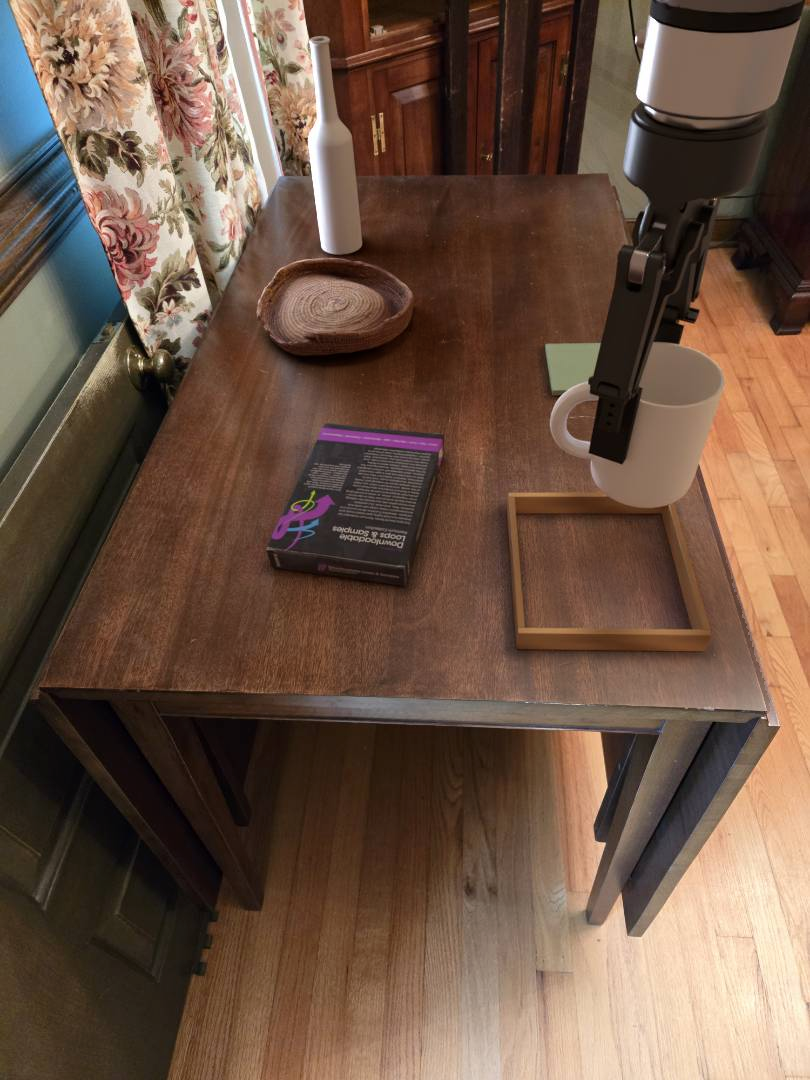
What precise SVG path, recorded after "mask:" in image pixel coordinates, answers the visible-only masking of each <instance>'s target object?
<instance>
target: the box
mask: <svg viewBox="0 0 810 1080" xmlns="http://www.w3.org/2000/svg"><path fill="white" fill-rule="evenodd" d="M444 451H445V434H444V433H439V432H435V433H433V432H432V433H431V432H423V431H410V430H399V429H390V428H380V427H379V428H378V427H368V426H367V427H366V426H358V425H357V426H355V425H348V424H347V425H346V424H337V423H329V422H324V423H323V425H322V427H321V430H320V432H319V434H318V437H317V439H316V441H315V443H314V445H313V447H312V449H311V452H310V453H309V456H308V458H307V460H306V462H305V465H304V467H303V469H302V471H301V473H300V475H299V477H298V480H297V482H296V484H295V486H294V488H293V490H292V492H291V494H290V496H289V499H288V501H287V503H286V504H285V506H284V510H283V512H282V514H281V516H280V518H279V520H278V523H277V525H276V527H275V529H274V530H273V533H272V535H271V536H270V539H269V541H268V542H267V545H266V548H265V551H266V554H267V557H268V561H269V563H270V566H271V568H275V569H282V570H289V571H297V572H305V573H312V574H319V575H325V576H326V575H327V576H332V577H340V578H348V579H353V580H361V581H367V582H368V581H369V582H375V583H382V584H388V585H395V586H401V587H402V586H403V587H406V586H407V584H408V581H409V577H410V573H411V571H412V570H411V569H412V567H413V563H414V560H415V556H416V554H417V553H416V552H417V549H418V547H419V546H418V545H419V542H420V539H421V535H422V533H423V529H424V525H425V521H426V518H427V514H428V510H429V508H430V504H431V500H432V497H433V493H434V490H435V486H436V482H437V478H438V474H439V471H440V468H441V465H442V462H443V457H444V453H445V452H444Z"/></svg>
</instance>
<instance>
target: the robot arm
mask: <svg viewBox="0 0 810 1080" xmlns="http://www.w3.org/2000/svg"><path fill="white" fill-rule="evenodd" d="M805 4H806V0H651V1H650V5H649V6H650V7H649V13H648V18H647V23H646V27H643V28H639V30H638V32H637V34H636V35H635V38H634V39H635V40H634V44H635V46H636V47H637V48H638V49H641V50H643V51H642V57H641V61H640V65H639V70H638V78H637V83H636V89H635V94H636V97H637V98H638V100H639V101H640V102H639V103H638V104H637V106H635V108H634V109H633V110H632V111H631V114H630V119H629V126H628V131H627V138H626V142H625V143H626V144H625V149H624V155H623V160H622V171H623V175H624V177H625V178H626V180H627V181H628V182H629V183H630V184H631V185H632V186H633V187H635V188H638V189H639V190H640V191H641V192H642V193H643V194H644V195H645V196H646V198H647V205H646V206H645V210H639V213H638V214H637V217H636V219H635V222H634V226H633V229H632V232H631V238H632V245H629V244H623V245H622V246H621V248H620V250H618V253H617V258H616V259H617V262H616V270H615V278H614V285H613V290H612V293H611V298H610V302H609V307H608V311H607V315H606V319H605V324H604V328H603V332H602V337H601V341H600V343H601V345H600V349H599V353H598V358H597V362H596V366H595V370H594V375H593V376H591V377H589V380H588V385H590V391H589V392H590V394H592V395H595V396H598V397H599V399H598V401H597V405H596V409H595V415H594V421H593V426H592V432H591V437H590V441H589V442H590V447H589V453H590V454H593V455H595V456H598V457H601V458H604V459H607V460H610V461H613V462H616V463H619V464H623V463H624V461H625V460H626V456H627V452H628V448H629V444H630V440H631V435H632V431H633V427H634V423H635V419H636V414H637V410H638V406H639V402H640V398H641V393H642V389H643V388H641V387H639V384H640V381H641V378H642V375H643V372H644V369H645V366H646V363H647V360H648V357H649V353H650V350H651V347H652V344H653V342H666V343H674V344H679V345H681V340H682V336H683V332H684V329H685V325H684V324H681V323H680V321H681V322H684V323H689V324H693V325H695V324H696V322H697V320H698V317H699V315H700V312H701V309H700V308H695V307H691V303H695V302H696V300H698V298H699V296H700V288H701V283H702V279H703V274H704V270H705V265H706V261H707V257H708V253H709V250H710V244H711V240H712V236H713V231H714V227H715V223H716V219H717V214H718V210H719V207H720V202H721V199H723V198H725V197H729V196H732V195H734V194H736V193H739V192H740V191H742V190H744V189H745V188H746V187H747V186H748V185H749V184H750V183H751V181H752V180H753V179H754V175H755V172H756V168H757V165H758V163H759V159H760V155H761V152H762V150H763V149H762V148H763V146H764V143H765V142H764V141H765V139H766V135H767V132H768V128H769V126H770V125H769V124H770V118H769V116H768V114H767V110H768V109H769V108H771V107H772V106H773V105H775V104H776V103H777V101H778V100H779V95H780V92H781V88H782V86H783V85H782V84H783V82H784V79H785V75H786V71H787V68H788V65H789V61H790V58H791V54H792V52H793V49H794V44H795V42H796V38H797V34H798V31H799V27H800V25H801V20H802V14H803V12H804V7H805Z"/></svg>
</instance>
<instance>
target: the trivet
mask: <svg viewBox="0 0 810 1080" xmlns="http://www.w3.org/2000/svg"><path fill="white" fill-rule="evenodd" d="M600 345H601V342H582V343H581V342H577V343H574V342H573V343H567V342H566V343H545V345H544V346H545V348H544V349H545V356H546V363H547V364H546V365H547V369H548V370H547V371H548V376H549V383H550V390H551V396H562V394H564V393H565V392H566V391H567V390H569V389H570V388H572V387H574V386H576V385H578V384H581V383H584V382H588V380H589V377H591V376H593V375H594V370H595V366H596V362H597V358H598V353H599V349H600Z"/></svg>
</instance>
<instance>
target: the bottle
mask: <svg viewBox="0 0 810 1080" xmlns="http://www.w3.org/2000/svg"><path fill="white" fill-rule="evenodd" d="M330 42H331V39H330V38H329V37H328V36H325V35H319V36H313V37H311V38H310V39H308V43H309V44H310V52H311V60H312V61H311V62H312V67H313V68H312V71H313V78H314V87H315V100H316V101H315V102H316V103H315V104H316V117H317V118H316V121H315V123H314V125H313V127H312V128H311V130H310V132H309V135H308V139H307V142H308V150H309V160H310V167H311V176H312V182H313V183H312V185H313V191H314V199H315V207H316V215H317V216H316V217H317V223H318V231H319V238H320V246H321V249H322V251H324V252H325V253H327V254H331V255H340V256H341V255H349V254H352V253H354V252H356V251H359V250H360V249H361V247H362V246H363V239H362V238H363V236H362V235H363V234H362V225H361V224H362V223H361V214H360V203H359V194H358V183H357V173H356V163H355V154H354V153H355V151H354V143H353V142H354V141H353V135H352V133H351V131H350V130H349V128H347V126H346V125H345V124H344V123H343V121H341V118H340V117H339V115H338V109H337V108H338V107H337V102H336V96H335V89H334V81H333V72H332V63H331V62H332V61H331V54H330V46H329V43H330Z"/></svg>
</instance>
